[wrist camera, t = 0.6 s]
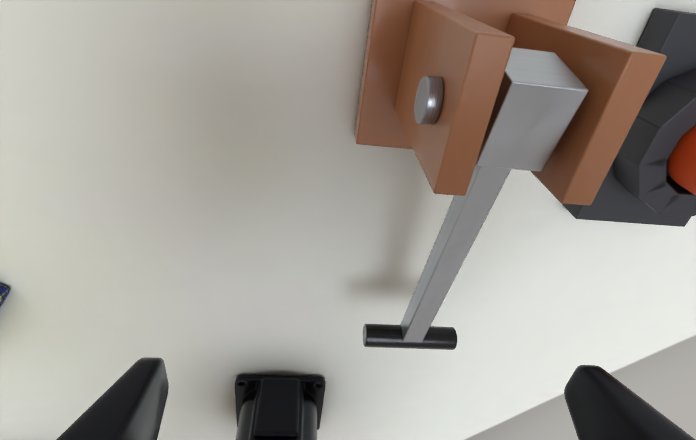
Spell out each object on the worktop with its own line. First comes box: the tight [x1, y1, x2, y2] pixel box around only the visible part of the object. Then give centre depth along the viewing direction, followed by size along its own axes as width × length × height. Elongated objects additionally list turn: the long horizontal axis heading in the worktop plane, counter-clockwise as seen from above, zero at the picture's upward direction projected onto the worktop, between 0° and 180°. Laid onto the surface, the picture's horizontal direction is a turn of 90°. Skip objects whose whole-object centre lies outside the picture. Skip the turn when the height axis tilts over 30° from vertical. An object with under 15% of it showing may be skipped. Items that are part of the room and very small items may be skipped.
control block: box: [563, 8, 696, 227], centre depth 19 cm, size 10×6×4 cm, turn 173°
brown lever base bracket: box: [355, 0, 666, 205], centre depth 15 cm, size 8×8×9 cm
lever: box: [363, 47, 589, 350], centre depth 17 cm, size 16×5×2 cm, turn 173°
